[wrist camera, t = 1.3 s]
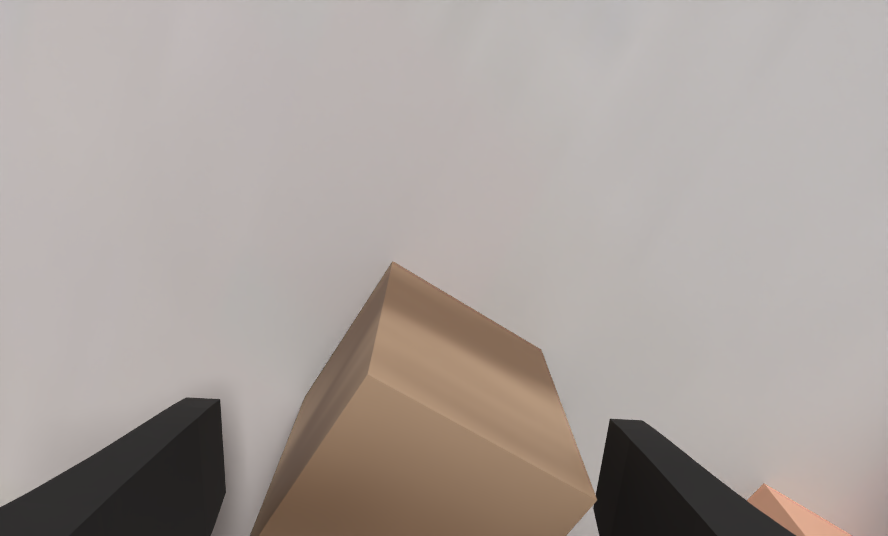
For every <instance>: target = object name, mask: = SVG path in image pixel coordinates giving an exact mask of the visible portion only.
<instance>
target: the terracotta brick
mask: <svg viewBox="0 0 888 536" xmlns="http://www.w3.org/2000/svg"><path fill="white" fill-rule="evenodd" d="M747 501H748V502H749V503H750V504H752V505H753V506H754V507H756V508H757V509H759V510H760V511H762V512H763V513H764V514H766V515H767V516H769V517H770V518H772V519H773V520H774V521H776V522H777V523H779V524H780V525H782V526H783V527H784V528H786V529H787V530H789V531H790V532H792V533H793V534H795V535H796V536H852V535H850V534H848V533H847V532H845V531H843V530H842V529H840V528H838V527H837V526H835V525H833V524H832V523H830V522H828V521H827V520H825V519H823V518H821V517H820V516H818V515H816V514H815V513H813V512H811V511H810V510H808V509H806V508H805V507H803V506H801V505H800V504H798V503H796V502H795V501H793V500H791V499H790V498H788V497H786V496H785V495H783V494H781V493H779V492H778V491H776V490H774V489H773V488H771V487H769V486H768V485H766V484H763V485H762V486H761V487H760V488H759V489H758V490H757V491H756V492H755V493H754V494H753V495H752V496H751V497H750V498H749V499H748V500H747Z"/></svg>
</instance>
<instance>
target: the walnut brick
mask: <svg viewBox="0 0 888 536" xmlns="http://www.w3.org/2000/svg"><path fill="white" fill-rule="evenodd" d="M596 501H597V498H596V496H595V493H594V490H593V488H592V485H591V482H590V479H589V477H588V474H587V471H586V469H585V466H584V463H583V461H582V458H581V455H580V453H579V450H578V447H577V445H576V442H575V439H574V436H573V434H572V431H571V428H570V426H569V423H568V420H567V418H566V415H565V412H564V410H563V407H562V404H561V402H560V399H559V396H558V393H557V391H556V388H555V385H554V383H553V380H552V377H551V375H550V372H549V369H548V367H547V364H546V361H545V359H544V356H543V353H542V350H541V349H539V348H538V347H536V346H534V345H532V344H531V343H529V342H527V341H526V340H524V339H522V338H521V337H519V336H517V335H516V334H514V333H512V332H511V331H509V330H507V329H506V328H504V327H502V326H501V325H499V324H497V323H496V322H494V321H492V320H490V319H489V318H487V317H485V316H484V315H482V314H480V313H479V312H477V311H475V310H474V309H472V308H470V307H469V306H467V305H465V304H464V303H462V302H460V301H459V300H457V299H455V298H454V297H452V296H450V295H448V294H447V293H445V292H443V291H442V290H440V289H438V288H437V287H435V286H433V285H432V284H430V283H428V282H427V281H425V280H423V279H422V278H420V277H418V276H417V275H415V274H413V273H412V272H410V271H408V270H407V269H405V268H403V267H401V266H400V265H398V264H396V263H395V262H392V263H391V265H390V266H389V268H388V269H387V271H386V272H385V274H384V276H383V277H382V279H381V280H380V282H379V283H378V285H377V286H376V288H375V289H374V291H373V293H372V294H371V296H370V297H369V299H368V300H367V302H366V303H365V305H364V306H363V308H362V309H361V311H360V313H359V314H358V316H357V317H356V319H355V320H354V322H353V323H352V325H351V326H350V328H349V330H348V331H347V333H346V334H345V336H344V337H343V339H342V340H341V342H340V343H339V345H338V347H337V348H336V350H335V351H334V353H333V354H332V356H331V357H330V359H329V360H328V362H327V364H326V365H325V367H324V368H323V370H322V371H321V373H320V374H319V376H318V377H317V379H316V381H315V382H314V384H313V385H312V387H311V388H310V390H309V391H308V393H307V394H306V396H305V398H304V401H303V403H302V406H301V408H300V411H299V413H298V416H297V418H296V421H295V423H294V426H293V428H292V431H291V433H290V436H289V438H288V441H287V444H286V446H285V449H284V451H283V454H282V456H281V459H280V461H279V464H278V466H277V469H276V471H275V474H274V476H273V479H272V481H271V484H270V486H269V489H268V491H267V494H266V497H265V499H264V502H263V504H262V507H261V509H260V512H259V514H258V517H257V519H256V522H255V524H254V527H253V529H252V532H251V534H250V536H566V535H567V534H568V533H569V532H570V531H571V529H572V528H573V527H574V526H575V525H576V524H577V523H578V521H579V520H580V519H581V518H582V517H583V516H584V515H585V514H586V512H587V511H588V510H589V509H590V508H591V507H592V506H593V504H594V503H595V502H596Z"/></svg>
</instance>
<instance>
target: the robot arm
mask: <svg viewBox="0 0 888 536" xmlns="http://www.w3.org/2000/svg"><path fill="white" fill-rule="evenodd" d="M225 493H226V487H225V471H224V455H223V439H222V423H221V406H220V399H204V398H185V399H183V400H181V401H179V402H177V403H176V404H174V405H172V406H171V407H169V408H167V409H166V410H164V411H162V412H161V413H159V414H158V415H156V416H154V417H153V418H151V419H150V420H148V421H147V422H145V423H143V424H142V425H140V426H139V427H137V428H136V429H134V430H132V431H131V432H129V433H128V434H126V435H125V436H123V437H121V438H120V439H118V440H117V441H115V442H113V443H112V444H110V445H109V446H107V447H105V448H104V449H102V450H101V451H99V452H97V453H96V454H94V455H93V456H91V457H89V458H88V459H86V460H84V461H82V462H81V463H79V464H77V465H75V466H74V467H72V468H70V469H68V470H67V471H65V472H63V473H62V474H60V475H58V476H56V477H55V478H53V479H51V480H49V481H48V482H46V483H44V484H42V485H41V486H39V487H37V488H35V489H34V490H32V491H30V492H28V493H27V494H25V495H23V496H21V497H19V498H17V499H15V500H13V501H12V502H10V503H8V504H6V505H4V506H2V507H0V536H211V533H212V530H213V528H214V525H215V522H216V519H217V516H218V514H219V511H220V508H221V505H222V502H223V499H224V496H225ZM596 498H597V501H596V502H595V503H594V508H593V509H594V513H595V518H596V522H597V527H598V531H599V536H796V535H795V534H793V533H792V532H790V531H789V530H787V529H786V528H784V527H783V526H782V525H780V524H779V523H777V522H776V521H774V520H773V519H772V518H770V517H769V516H767V515H766V514H764V513H763V512H762V511H760V510H759V509H757V508H756V507H754V506H753V505H752V504H750V503H749V502H748V501H746V500H745V499H744V498H742V497H741V496H740V495H738V494H737V493H736V492H734V491H733V490H732V489H730V488H729V487H728V486H726V485H725V484H724V483H722V482H721V481H720V480H719V479H717V478H716V477H715V476H713V475H712V474H711V473H710V472H708V471H707V470H706V469H705V468H703V467H702V466H701V465H699V464H698V463H697V462H696V461H694V460H693V459H692V458H691V457H689V456H688V455H687V454H686V453H684V452H683V451H682V450H681V449H679V448H678V447H677V446H676V445H674V444H673V443H672V442H671V441H669V440H668V439H667V438H666V437H664V436H663V435H662V434H660V433H659V432H658V431H656V430H655V429H654V428H652V427H651V426H650V425H648V424H647V423H645V422H644V421H642V420H623V419H610V421H609V427H608V432H607V438H606V443H605V448H604V454H603V459H602V465H601V470H600V475H599V481H598V486H597V491H596Z"/></svg>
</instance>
